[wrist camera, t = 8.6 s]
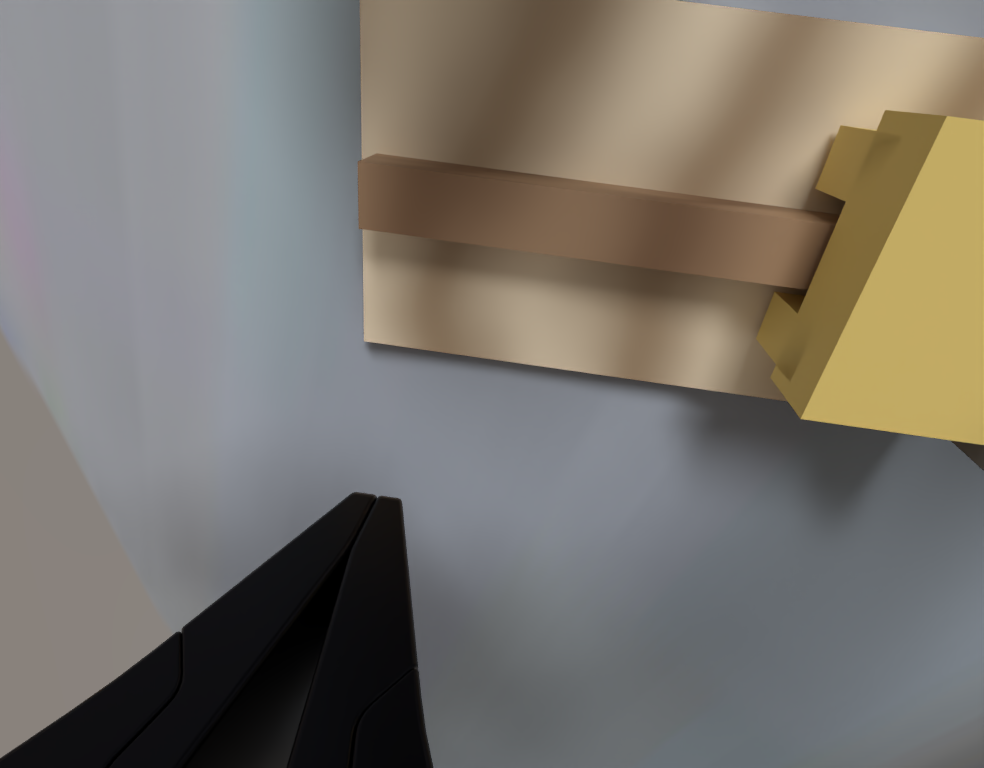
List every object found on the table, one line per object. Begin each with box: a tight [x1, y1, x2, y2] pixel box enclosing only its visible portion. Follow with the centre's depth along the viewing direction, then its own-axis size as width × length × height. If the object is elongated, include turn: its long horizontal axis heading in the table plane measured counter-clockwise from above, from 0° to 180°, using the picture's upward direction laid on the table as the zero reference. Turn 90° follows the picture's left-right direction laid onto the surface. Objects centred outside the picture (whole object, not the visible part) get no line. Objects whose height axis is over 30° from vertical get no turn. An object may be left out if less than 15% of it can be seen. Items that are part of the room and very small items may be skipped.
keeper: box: [756, 110, 984, 445], centre depth 16 cm, size 6×8×4 cm
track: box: [358, 0, 984, 470], centre depth 16 cm, size 23×12×6 cm, turn 84°
